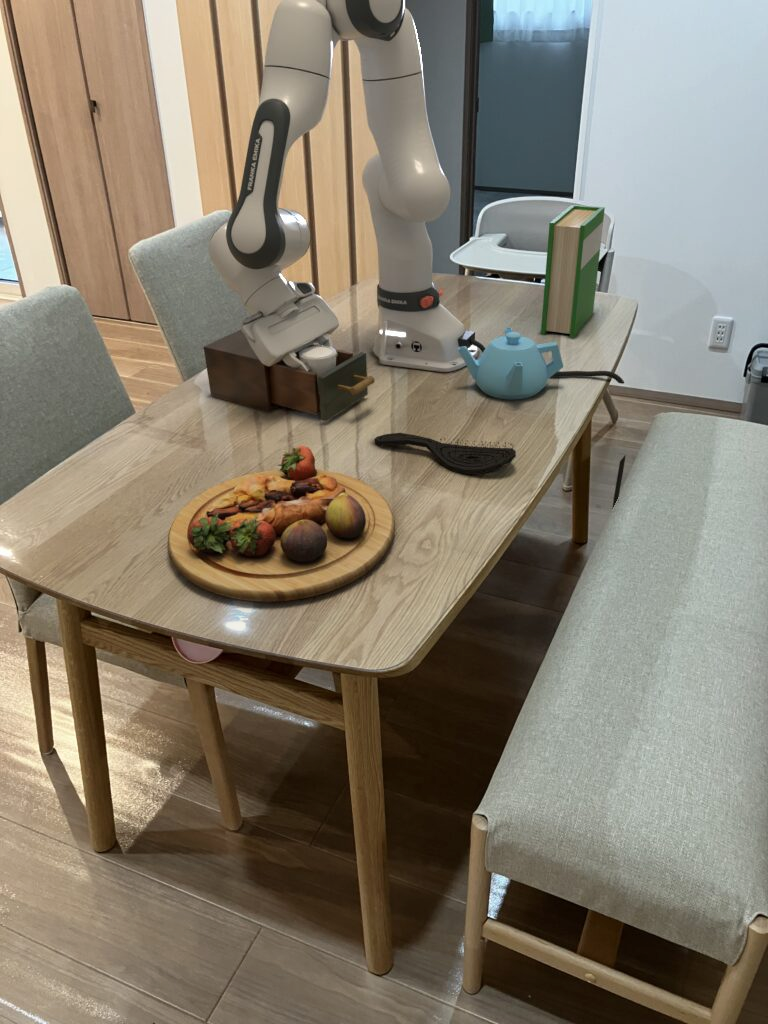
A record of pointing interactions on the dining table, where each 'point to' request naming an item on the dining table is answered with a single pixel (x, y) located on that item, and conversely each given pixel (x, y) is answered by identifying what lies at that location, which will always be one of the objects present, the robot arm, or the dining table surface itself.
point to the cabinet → (237, 372)
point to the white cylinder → (319, 359)
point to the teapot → (512, 366)
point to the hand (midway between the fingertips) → (321, 366)
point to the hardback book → (572, 269)
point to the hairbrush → (455, 453)
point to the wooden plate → (281, 532)
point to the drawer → (320, 385)
